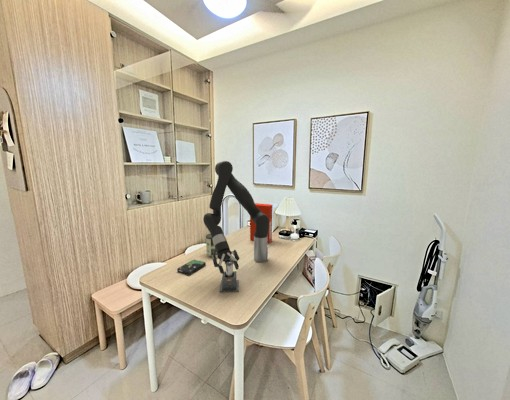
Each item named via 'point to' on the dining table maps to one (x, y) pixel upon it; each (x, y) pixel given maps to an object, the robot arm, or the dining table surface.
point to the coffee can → (210, 246)
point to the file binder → (268, 211)
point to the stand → (229, 283)
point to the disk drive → (191, 267)
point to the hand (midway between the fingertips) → (230, 271)
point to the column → (229, 268)
